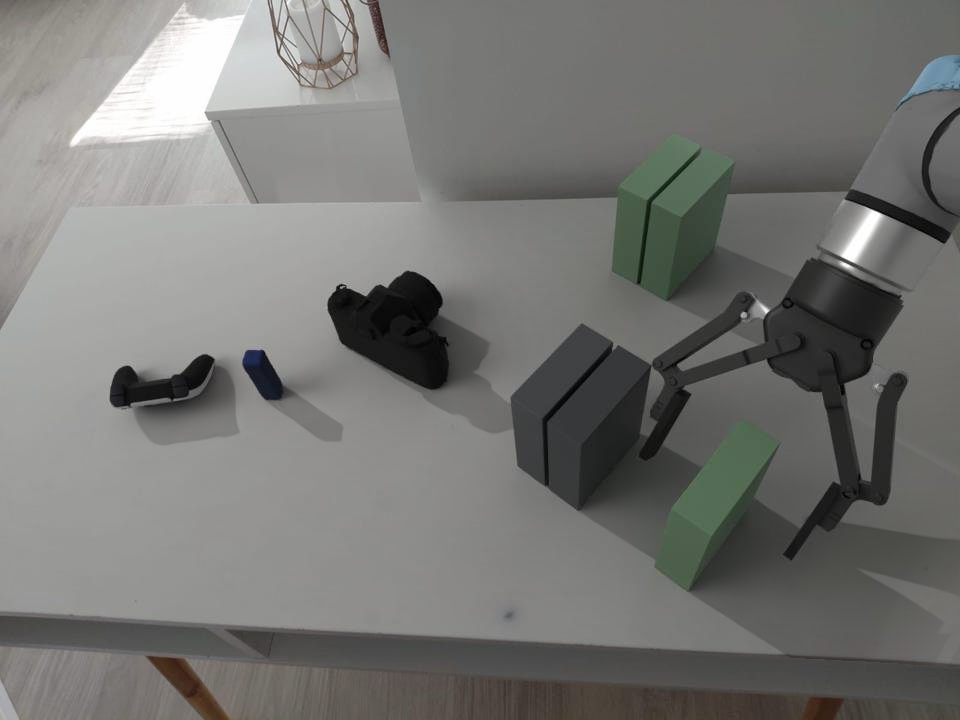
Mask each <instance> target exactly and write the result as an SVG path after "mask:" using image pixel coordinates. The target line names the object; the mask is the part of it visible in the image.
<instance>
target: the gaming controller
mask: <svg viewBox="0 0 960 720" xmlns="http://www.w3.org/2000/svg"><path fill="white" fill-rule="evenodd" d="M215 364H216V359H215V358H214V357H213V356H212V355H210V354H208V353H203V354H200V355H199V356H197V357H195V358H194V359H193V360H192V361H191V362H190V363H189V364H188V365H187V367H186V368H185V369H184V370H182V371H181V372H180V373H175V374H173V375H172V376H171V377H168V378H161V379H155V380H148V381H141V382H140V380H139V377H138V374H137V372H136V370H134V368H133V367H132V366H131V365H123V366H121V367H120V368H118V369H117V370H116V371H115V373H114V375H113V377H112V380H111V385H110V388H109V403H110V405H111V407H112V408H113V409H114V410H127V409H133V408H140V407H143V408H149V407H153V406H155V405H160V404H167V403H173V402H174V403H176V404H177V403H182V402H185V401H188V400H190V399H192V398H194V399H195V398H197V397H198V396H200V394H201V392H203V391H204V389H205V388H206V387H207V385H208V383H209V381H210V379H211V377H212V374H213V372H214V367H215Z"/></svg>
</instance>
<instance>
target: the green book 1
mask: <svg viewBox="0 0 960 720" xmlns="http://www.w3.org/2000/svg"><path fill="white" fill-rule="evenodd" d="M702 148H703V146H702V145H700V144H698V143H695V142H693V141H691V140H689V139H686V138H684V137H682V136H679V135H678V134H675V133H673V134H671V135H670V136H669V138H667V139H666V140H665V141H664V142H663V143H662V144H661V145H660V146H659V147H658V148H657V149H656V150H654V152H653V153H652V154H650V155H649V157H647V158H646V159H645V160H644V161H643V162H642V163H641V164H640V165H639V166H638V167H637V168H636V169H635V170H634V171H633V172H631V174H629V176H627V177H626V178H625V179H624V181H622V182H621V183H620V184H619V185H618V188H617V199H616V201H617V202H616V211H615V215H616V216H615V224H614V235H613V248H612V259H611V261H612V262H611V271H612V272H614V273H616V274H617V275H618V276H620V277H623V278H624V279H626V280H628V281H630V282H632V283H633V284H635V285H637V284H638V283H639V282H641V278H642V271H643V263H644V256H645V249H646V241H647V234H648V226H649V219H650V211H651V204H652V202H653V201H654V200H655V199H656V198H657V197H658V196H659V195H660V194H661V193H662V192H663V191H664V190H665V189H666V188H667V187H668V186H669V185H670V184H671V183H672V182H673V181H674V180H675V179H676V178H677V177H678V176H679V175H680V174H681V173H682V172H683V171H684V170H685V169H686V168H687V167H688V166H689V165H690V164H691V163H692V162H693V161H694V160H695V159H696V158H697V157H698V156H699V155H700V154H701V153H702V152H701V151H702Z"/></svg>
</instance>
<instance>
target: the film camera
mask: <svg viewBox="0 0 960 720" xmlns="http://www.w3.org/2000/svg"><path fill="white" fill-rule="evenodd" d="M341 287H342V288H341ZM326 305H327V313H328V315H329V316H330V319H331V321H332V324H333V327H334V329H335V331H336V334H337V336H338V340H339V342H340V343H341V345H344V346H345V347H346V348H347V349H350V350H353V351H354V352H356V353H357V354H359V355H361V356H363V357H364V358H366V359H368V360H370V361H372V362H374V363H376V364H378V365H379V366H381V367H382V368H384V369H387V370H389V371H390V372H392V373H394V374H396V375H398V376H400V377H401V378H404V380H407V381H409V382H412V383H414V384H416V385H417V386H420V387H422V388H423V389H424V388H425V389H427V390H436V389H439V388H441V387H442V386H444V384H445V383H446V382H447V380H448V375H449V367H450V361H449V353H448V350H447V348H449V347H450V343H449V342H448V337H446V336H442V335H439V333H438V332H437V330H434V329H432V328H431V327H430V324H431V323H432V322H433V321H435V319H436V318H437V316H439V313H440V309H441V308H442V307H443V305H444V300H443V296H442V294H441V292H440V291H439V289H438V288H437V287H436V285H435V284H434V283H433V282H432V281H431V280H430V279H428V277H426V276H424V275H422V274H420V273H418V272H416V271H411V270H405V271H404V272H403V273H401V275H398V276H397V277H395V278H394V279H393V280H392V281H391V282H390V283H389V285H388V286H387V287H386V286H384V285H382V284H381V283H380V284H377V285H374V287H373V288H372V289H371V290H370V291H369V292H368V294H367V295H364V294H362V293H360V292H358V291H355V290H354V289H352V288H349V287H348V285H347V284H344V283H340V284H337V286H335V290H334V291H333V292H332V293H331V295H330V296H329V298H328V299H327V303H326Z"/></svg>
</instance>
